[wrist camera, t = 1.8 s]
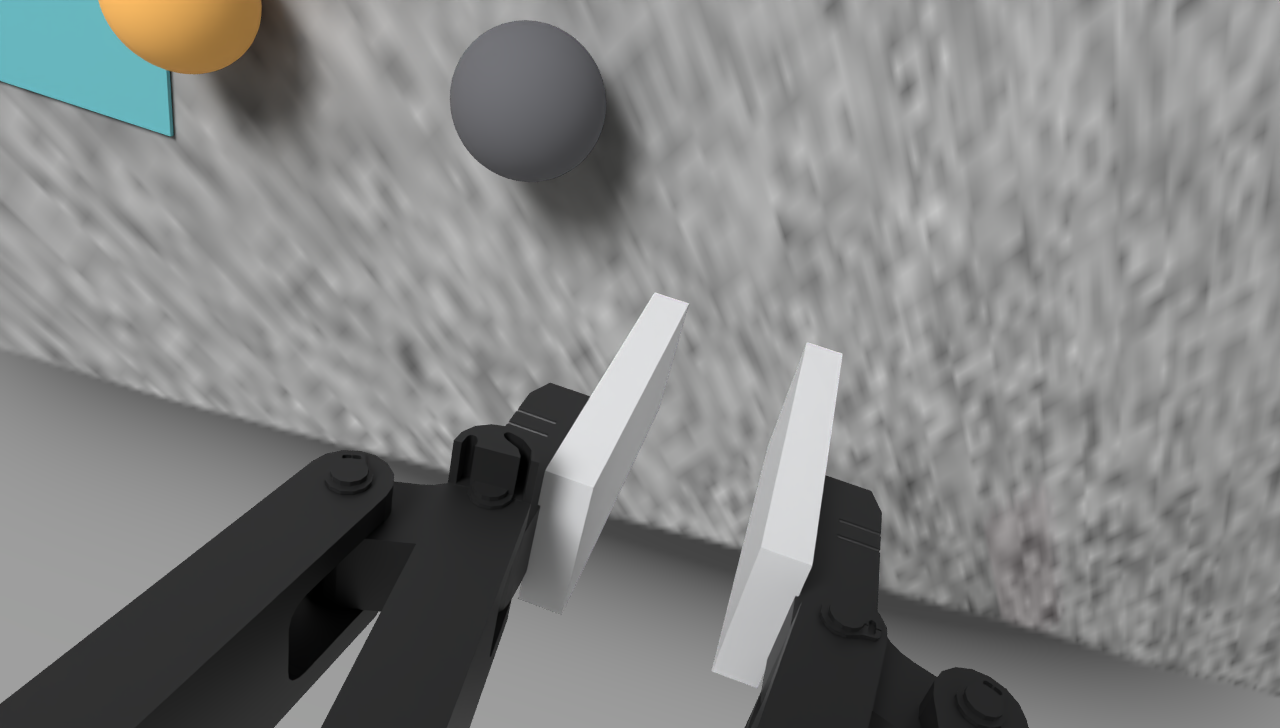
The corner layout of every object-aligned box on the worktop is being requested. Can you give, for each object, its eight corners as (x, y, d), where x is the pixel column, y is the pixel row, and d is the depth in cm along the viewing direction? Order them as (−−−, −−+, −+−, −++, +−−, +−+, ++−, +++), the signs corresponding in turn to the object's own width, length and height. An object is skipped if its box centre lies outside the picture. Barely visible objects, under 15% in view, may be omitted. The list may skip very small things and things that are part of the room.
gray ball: (638, 34, 32) (591, 60, 28) (608, 176, 35) (562, 222, 30) (498, -8, 33) (429, 12, 28) (480, 135, 36) (415, 174, 31)
